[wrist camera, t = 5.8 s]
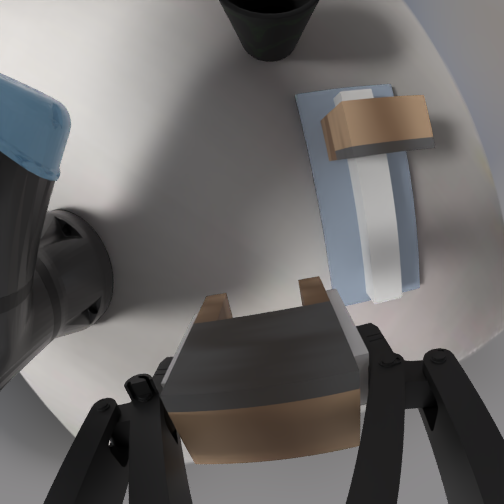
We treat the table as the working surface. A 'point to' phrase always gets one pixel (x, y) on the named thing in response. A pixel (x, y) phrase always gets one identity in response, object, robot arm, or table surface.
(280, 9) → the cup
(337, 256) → the rail
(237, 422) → the two-tone tabbed box
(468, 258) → the table surface
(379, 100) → the fixed jaw
